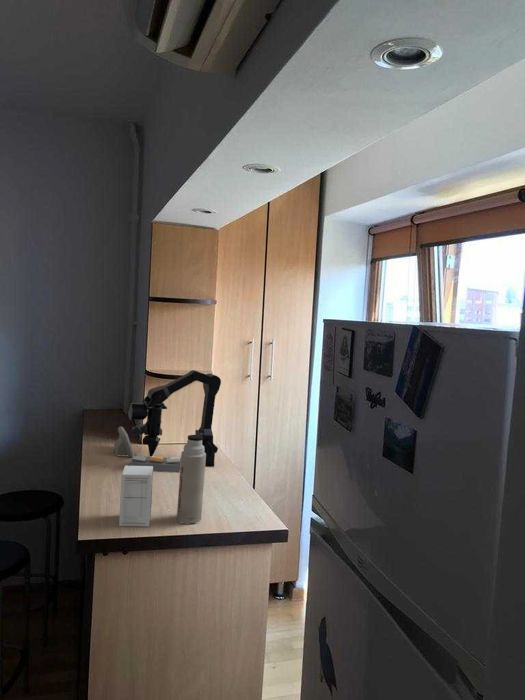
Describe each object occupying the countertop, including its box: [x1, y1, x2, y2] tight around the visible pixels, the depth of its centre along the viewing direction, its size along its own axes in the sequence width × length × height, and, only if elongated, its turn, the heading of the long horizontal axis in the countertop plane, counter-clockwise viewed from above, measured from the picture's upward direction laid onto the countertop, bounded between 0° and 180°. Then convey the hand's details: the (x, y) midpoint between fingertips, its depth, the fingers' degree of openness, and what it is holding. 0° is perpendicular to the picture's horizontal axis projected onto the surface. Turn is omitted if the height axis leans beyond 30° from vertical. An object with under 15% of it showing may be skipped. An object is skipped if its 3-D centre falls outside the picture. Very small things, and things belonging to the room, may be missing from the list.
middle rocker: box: [149, 454, 164, 462], centre depth 229 cm, size 5×3×1 cm, turn 95°
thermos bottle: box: [176, 434, 206, 524], centre depth 180 cm, size 8×8×28 cm
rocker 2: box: [166, 455, 181, 462], centre depth 229 cm, size 5×3×1 cm, turn 95°
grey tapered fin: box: [113, 426, 135, 458], centre depth 247 cm, size 16×9×11 cm, turn 12°
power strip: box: [130, 455, 181, 474], centre depth 231 cm, size 20×10×3 cm, turn 95°
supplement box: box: [118, 465, 154, 528], centre depth 176 cm, size 10×9×17 cm
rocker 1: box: [131, 453, 146, 461], centre depth 228 cm, size 5×3×1 cm, turn 95°
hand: (151, 456), depth 228 cm, fingers closed, pressing on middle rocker
